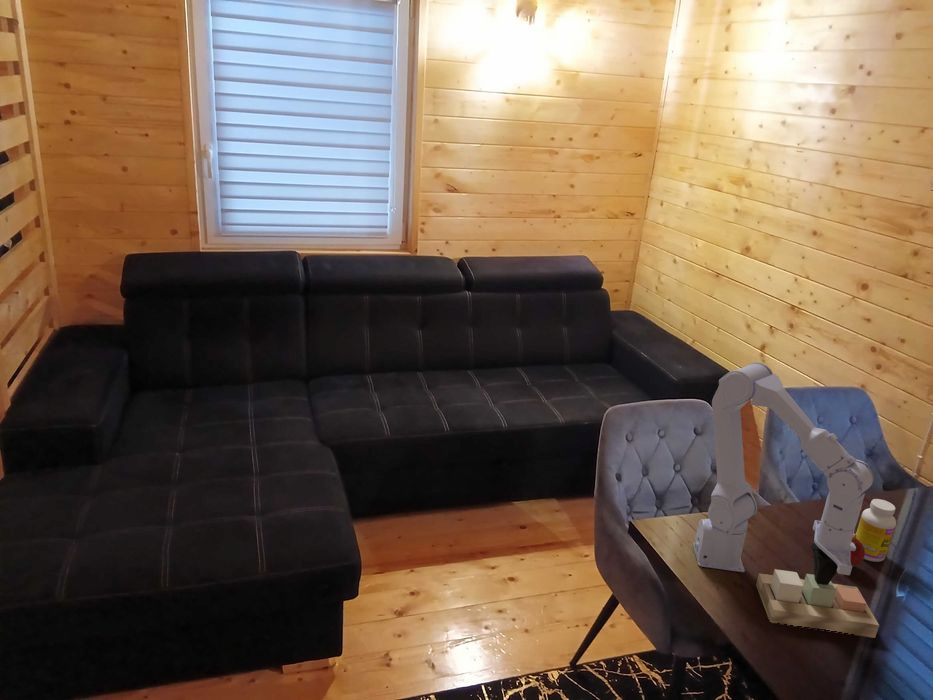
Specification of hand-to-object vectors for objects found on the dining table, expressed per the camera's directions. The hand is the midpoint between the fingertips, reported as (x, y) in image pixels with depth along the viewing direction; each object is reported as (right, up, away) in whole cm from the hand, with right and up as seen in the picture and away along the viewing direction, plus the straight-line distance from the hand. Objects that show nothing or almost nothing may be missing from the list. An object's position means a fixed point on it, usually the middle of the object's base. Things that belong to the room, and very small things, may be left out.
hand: (821, 582), depth 134 cm
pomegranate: (+14, -2, +17) cm, 22 cm away
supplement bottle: (+22, -1, +22) cm, 31 cm away
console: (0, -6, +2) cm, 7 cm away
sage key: (0, -4, +1) cm, 4 cm away
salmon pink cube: (+6, -6, +1) cm, 8 cm away
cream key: (-6, -3, +2) cm, 7 cm away
